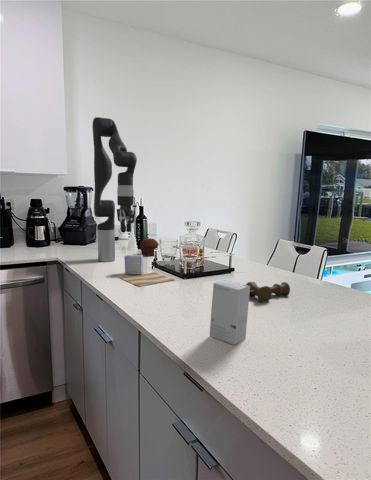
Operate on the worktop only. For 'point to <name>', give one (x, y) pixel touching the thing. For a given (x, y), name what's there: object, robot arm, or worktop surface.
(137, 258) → the medicine box
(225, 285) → the skincare box
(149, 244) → the muffin
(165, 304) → the worktop surface
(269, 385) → the worktop surface
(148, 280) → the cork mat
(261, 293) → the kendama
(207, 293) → the worktop surface
